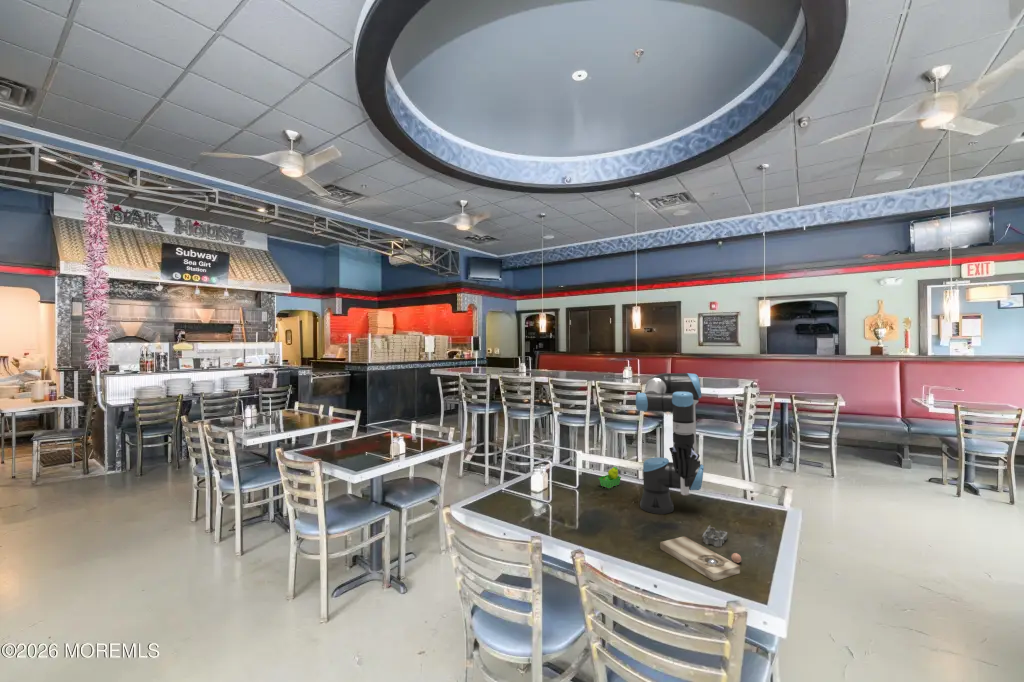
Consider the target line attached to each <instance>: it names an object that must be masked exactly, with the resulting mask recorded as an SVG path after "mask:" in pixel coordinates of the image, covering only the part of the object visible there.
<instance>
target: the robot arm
mask: <svg viewBox="0 0 1024 682" xmlns="http://www.w3.org/2000/svg"><path fill="white" fill-rule="evenodd" d="M644 388H645V391H644V392H637V393H636V394H635V408H636V410H637V411H639V412H641V411H642V412H656V413H657V412H663V413H672V432H673V433H672V438H673V439H672V441H673V443H674V445H673V446H672V447H669V451H670V454H671V458H672V461H669V460H670V459H668V458H667V457H659V456H658V457H650V458H647V459H645V460H644V462H643V464H642V466H643V467H642V468H643V469H642V472H643V491H642V496H641V499H640V501H639V505H640V506H639V508H640V509H641V510H643V511H644V512H648V513H652V514H659V515H664V514H665V515H666V514H671V513H672V512H674V510H675V508H674V507H675V506H674V502H673V500H672V497H671V493H670V489H677V490H680V495H682V496H688V495H690V491H699V490H701V489H702V487H703V480H704V469H705V466H704V464H701V459H699V458H700V454H699V453H697V424H696V423H697V422H696V420H697V417H696V405H697V404H698V403H699V400H700V399H701V398H702V389H701V382H700V379H699V376H698V375H697V374H696V373H688V372H686V373H685V372H684V373H683V372H681V373H680V372H678V373H675V372H674V373H673V372H672V373H671V372H670V373H667V372H666V373H659V374H657V375H654V376H652V377H650V378H649V379H648V380H647V382H646V383H645V387H644Z"/></svg>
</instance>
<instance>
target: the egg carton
mask: <svg viewBox="0 0 1024 682" xmlns="http://www.w3.org/2000/svg"><path fill="white" fill-rule="evenodd" d="M727 535H728V532H727V531H723V530H721V529H719V530H717V529H716V527H713V526H711V524H709V525H708V526H707V527H706V530H704V532H703V534H702V537H701V538H702V541H703V543H704V544H705V545H713V546H714V547H717V548H718V547H722V546H723V544H724V543H725V541H727Z"/></svg>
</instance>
